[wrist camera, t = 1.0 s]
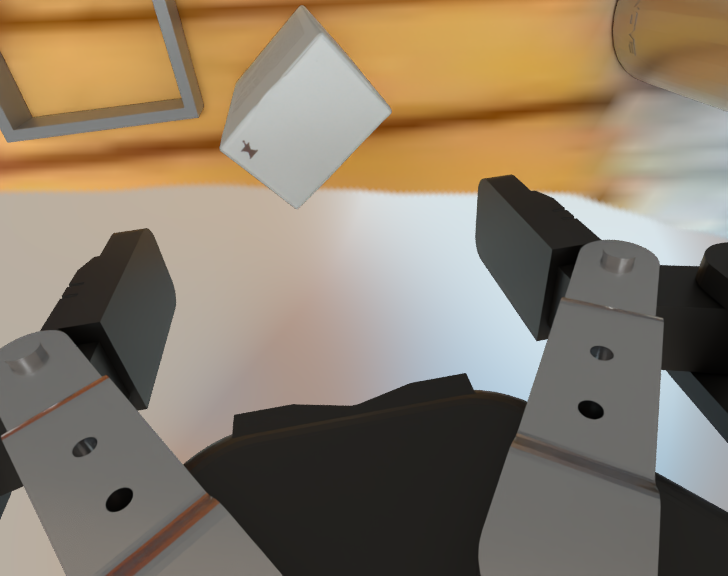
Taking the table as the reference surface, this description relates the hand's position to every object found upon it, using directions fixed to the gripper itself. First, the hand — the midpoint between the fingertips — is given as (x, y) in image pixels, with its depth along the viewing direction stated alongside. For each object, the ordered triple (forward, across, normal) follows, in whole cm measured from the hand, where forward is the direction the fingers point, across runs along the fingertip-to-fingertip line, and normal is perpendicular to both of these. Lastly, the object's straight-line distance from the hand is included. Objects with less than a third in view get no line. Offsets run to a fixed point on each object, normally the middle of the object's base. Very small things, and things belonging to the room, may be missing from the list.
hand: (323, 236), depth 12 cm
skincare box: (+21, 0, 0) cm, 21 cm away
